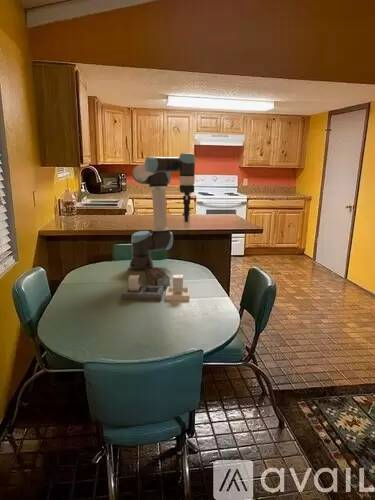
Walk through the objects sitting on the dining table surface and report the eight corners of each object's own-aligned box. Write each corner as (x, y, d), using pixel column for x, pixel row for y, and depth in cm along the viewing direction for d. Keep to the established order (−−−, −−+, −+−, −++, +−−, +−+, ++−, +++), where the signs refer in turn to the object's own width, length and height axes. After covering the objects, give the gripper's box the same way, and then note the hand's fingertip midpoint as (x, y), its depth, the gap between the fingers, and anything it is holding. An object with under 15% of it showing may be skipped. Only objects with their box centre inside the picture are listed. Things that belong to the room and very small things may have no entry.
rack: (126, 290, 182) (126, 285, 182) (163, 291, 182) (163, 285, 181) (121, 299, 171) (121, 293, 170) (161, 300, 171) (161, 294, 170)
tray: (167, 291, 182) (167, 286, 181) (189, 291, 182) (189, 286, 181) (165, 300, 171) (165, 295, 170) (189, 300, 170) (189, 295, 170)
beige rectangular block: (130, 293, 179) (130, 275, 176) (140, 293, 179) (139, 275, 176) (129, 296, 174) (128, 278, 172) (138, 296, 174) (138, 278, 172)
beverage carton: (156, 289, 185) (156, 277, 184) (145, 278, 202) (144, 267, 200) (170, 286, 189) (170, 275, 187) (157, 276, 205) (157, 266, 204)
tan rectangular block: (173, 292, 178) (173, 274, 176) (182, 292, 178) (183, 274, 176) (172, 296, 174) (172, 277, 171) (182, 296, 174) (182, 278, 171)
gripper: (180, 182, 185) (180, 221, 191) (178, 186, 161) (178, 230, 167) (194, 182, 185) (193, 221, 191) (194, 186, 161) (193, 230, 167)
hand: (186, 225), depth 179 cm, fingers open, 13 cm apart
